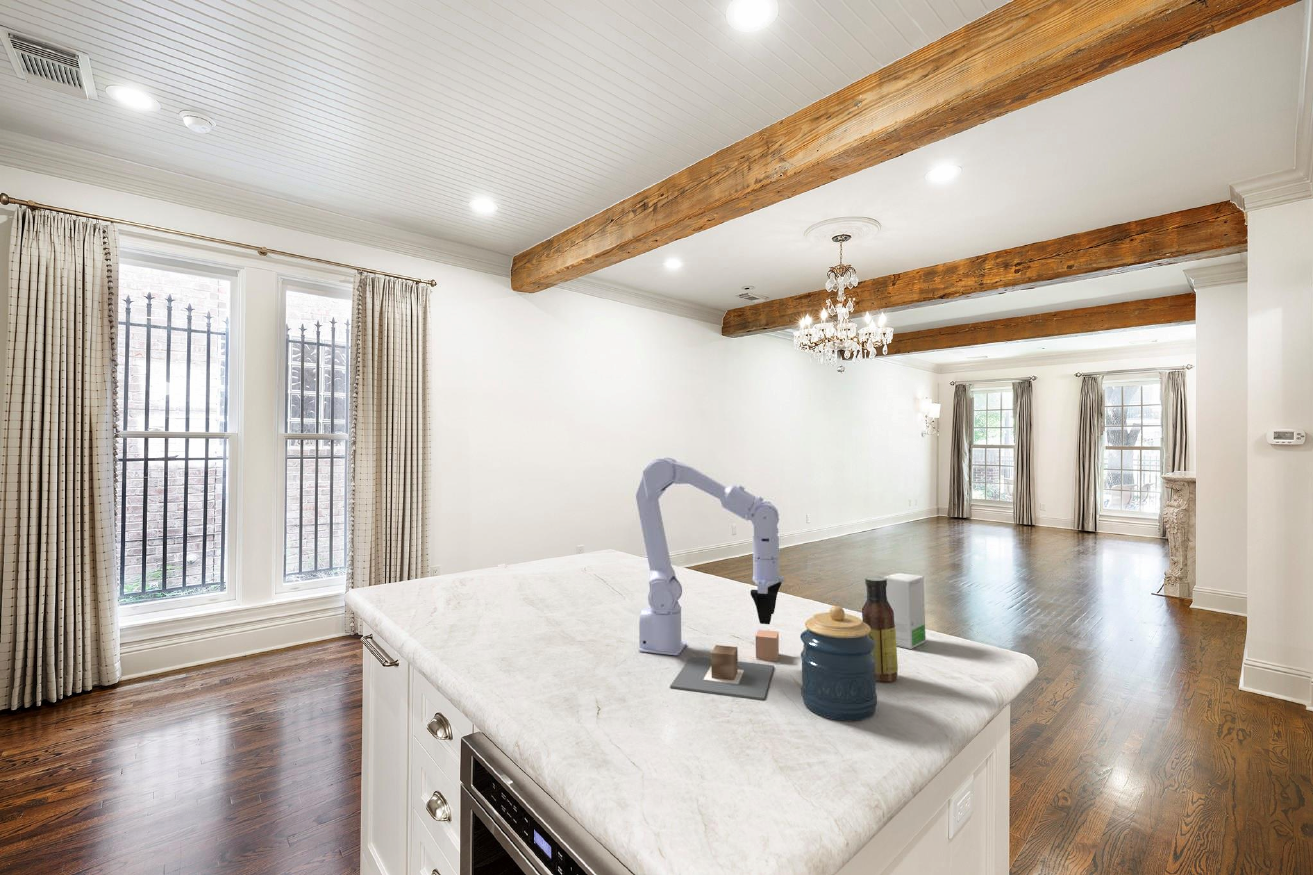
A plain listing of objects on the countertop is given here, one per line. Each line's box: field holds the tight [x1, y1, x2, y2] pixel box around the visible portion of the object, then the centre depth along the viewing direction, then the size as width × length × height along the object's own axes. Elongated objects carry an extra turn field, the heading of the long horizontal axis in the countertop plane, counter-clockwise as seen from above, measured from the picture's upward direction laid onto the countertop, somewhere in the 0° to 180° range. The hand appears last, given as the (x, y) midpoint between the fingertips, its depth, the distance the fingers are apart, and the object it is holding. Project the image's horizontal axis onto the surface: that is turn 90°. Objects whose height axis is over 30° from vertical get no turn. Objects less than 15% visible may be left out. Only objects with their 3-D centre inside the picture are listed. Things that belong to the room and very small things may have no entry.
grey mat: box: [669, 655, 775, 701], centre depth 112 cm, size 18×16×1 cm
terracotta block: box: [755, 629, 780, 662], centre depth 123 cm, size 4×4×5 cm
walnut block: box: [710, 644, 739, 680], centre depth 112 cm, size 4×4×5 cm
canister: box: [799, 605, 878, 722], centre depth 99 cm, size 13×13×18 cm
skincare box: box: [884, 572, 927, 650], centre depth 131 cm, size 8×7×16 cm
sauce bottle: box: [861, 575, 899, 683], centre depth 111 cm, size 7×6×20 cm
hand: (767, 618), depth 123 cm, fingers open, 7 cm apart
